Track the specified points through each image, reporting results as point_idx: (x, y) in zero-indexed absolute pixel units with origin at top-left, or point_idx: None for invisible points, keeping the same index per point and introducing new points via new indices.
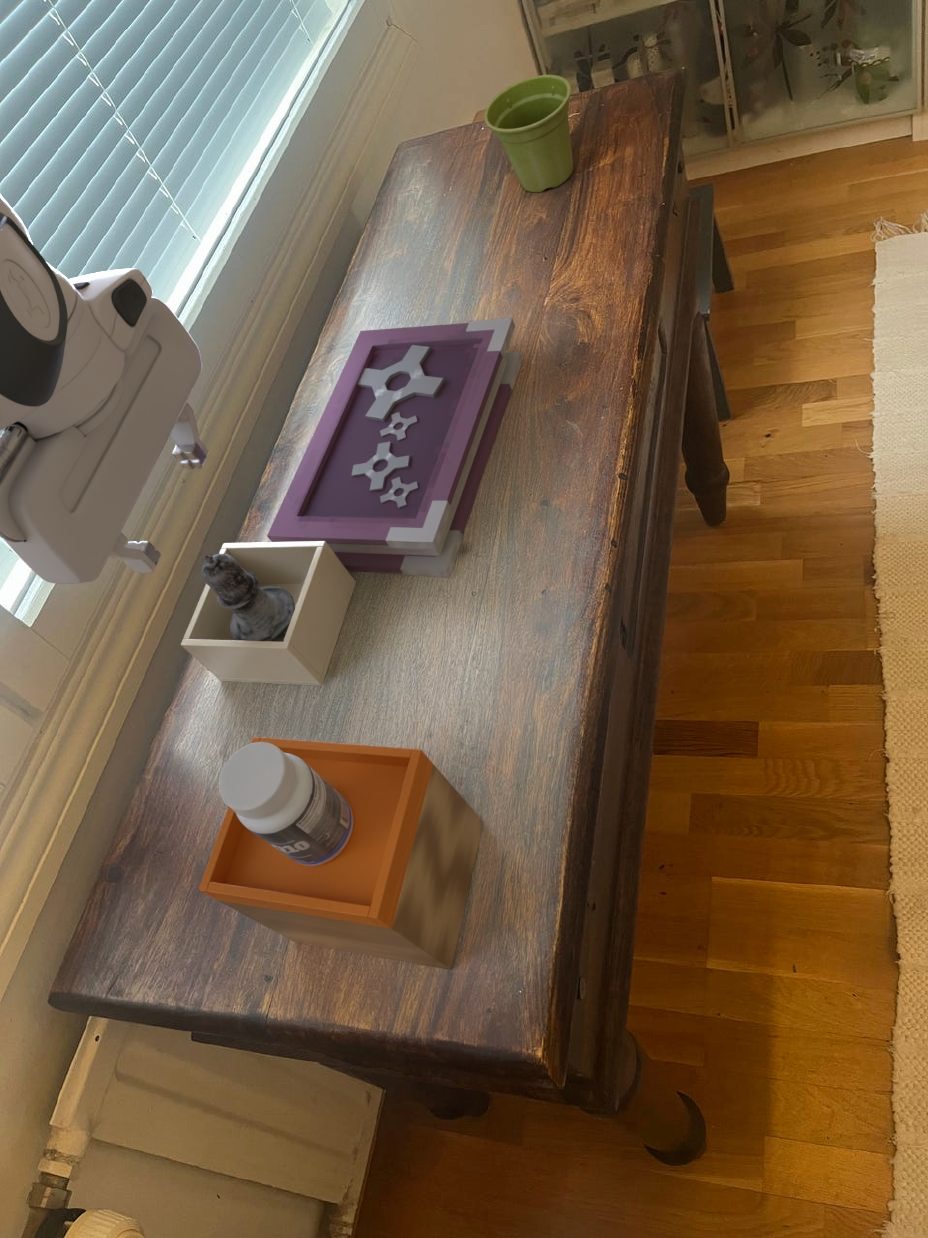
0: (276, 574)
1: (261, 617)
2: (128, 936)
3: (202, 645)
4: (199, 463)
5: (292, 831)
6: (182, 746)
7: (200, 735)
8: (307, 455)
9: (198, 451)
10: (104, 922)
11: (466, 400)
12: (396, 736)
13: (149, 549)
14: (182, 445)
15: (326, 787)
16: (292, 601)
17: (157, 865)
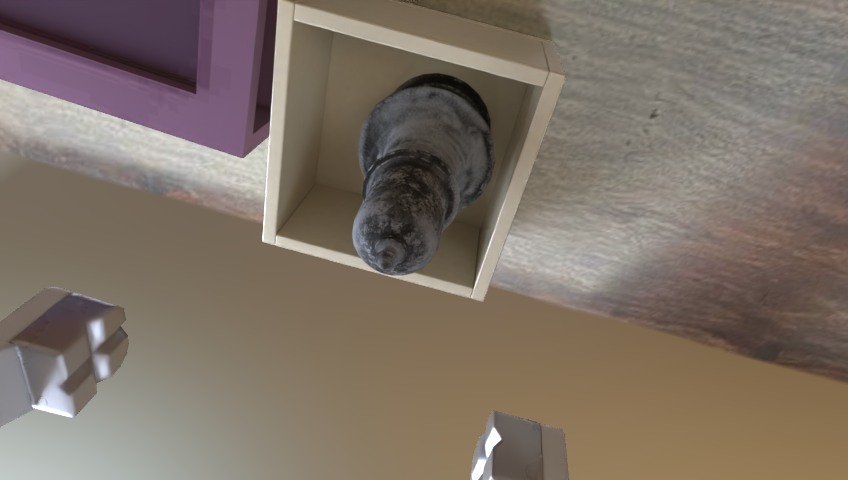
0: (312, 144)
1: (453, 149)
2: None
3: (496, 262)
4: (106, 316)
5: None
6: (590, 281)
7: (580, 256)
8: (38, 82)
9: (53, 326)
10: (837, 359)
11: None
12: None
13: (517, 466)
14: (32, 387)
15: None
16: (406, 90)
17: (784, 299)
